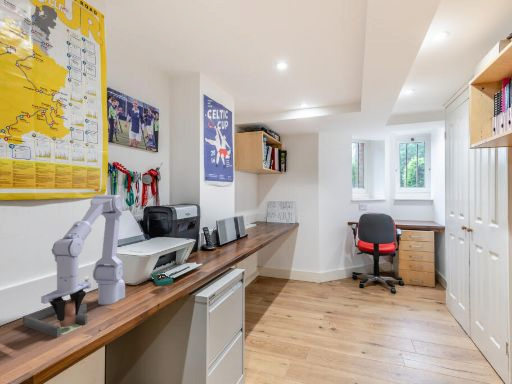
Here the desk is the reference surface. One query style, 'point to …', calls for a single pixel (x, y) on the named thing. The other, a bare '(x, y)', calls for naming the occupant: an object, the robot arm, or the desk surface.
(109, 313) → the desk surface
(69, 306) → the peg
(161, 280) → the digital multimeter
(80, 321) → the rails
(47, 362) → the desk surface
